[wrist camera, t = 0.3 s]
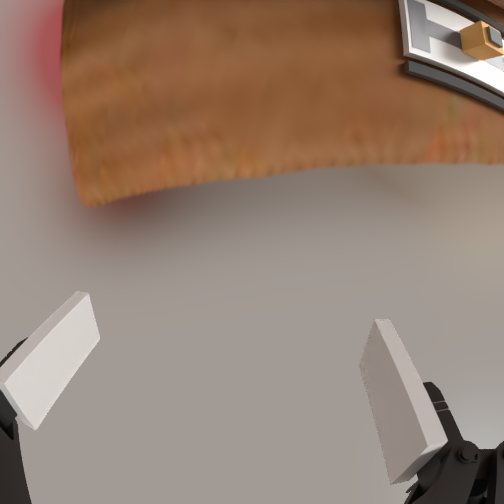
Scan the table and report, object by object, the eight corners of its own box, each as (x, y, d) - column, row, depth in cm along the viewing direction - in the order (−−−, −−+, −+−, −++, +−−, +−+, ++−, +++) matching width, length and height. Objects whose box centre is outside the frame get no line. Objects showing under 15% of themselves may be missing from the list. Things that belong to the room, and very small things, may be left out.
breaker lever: (459, 30, 23) (484, 19, 17) (478, 39, 23) (503, 31, 16) (462, 51, 24) (488, 42, 18) (481, 60, 24) (507, 54, 18)
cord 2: (403, 62, 29) (408, 60, 27) (511, 107, 28) (516, 107, 26) (404, 72, 29) (408, 70, 28) (511, 115, 28) (516, 115, 27)
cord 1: (395, -20, 23) (398, -25, 21) (501, 30, 22) (506, 28, 20) (396, -14, 24) (399, -18, 22) (503, 37, 22) (508, 35, 21)
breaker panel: (397, -4, 24) (402, -9, 22) (505, 47, 23) (511, 45, 21) (403, 55, 28) (409, 52, 26) (510, 100, 27) (518, 100, 25)
